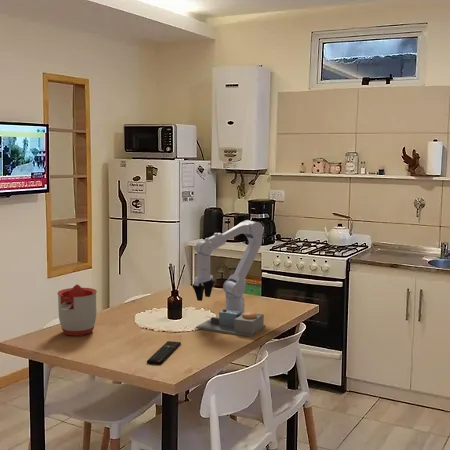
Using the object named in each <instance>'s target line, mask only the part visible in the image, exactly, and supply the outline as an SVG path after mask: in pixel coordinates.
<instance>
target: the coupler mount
mask: <svg viewBox="0 0 450 450" xmlns="http://www.w3.org/2000/svg"><path fill="white" fill-rule="evenodd" d="M244 312H245V313H242V315H241V316H239V317H237V318H236V319H235V327H234V328H230V327H223V326H219V317H216V316H215V317H214V316H212V317H210V319H208V320H205V321H204V322H202V323H200V324H198V325H196V326H195V329H196V328H200V329H199V330H201V329H202V331H208V332H209V331H210V332H213V333H214V332H216V333H221V332H222V334H228V333H229V334H230V335H234V334H236V336H241V335H243V336H242V337H247V336H249V337H250V338H251V337H252V335H253V336H255V334H257V333H258V332H260V331H261V330H263V329H265V327H266V324H264V323H265V322H264V321H265V319H264V317H265V315H264V314H262V313H256V312H253V311H244ZM229 334H228V335H229ZM249 337H248V338H249Z"/></svg>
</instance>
